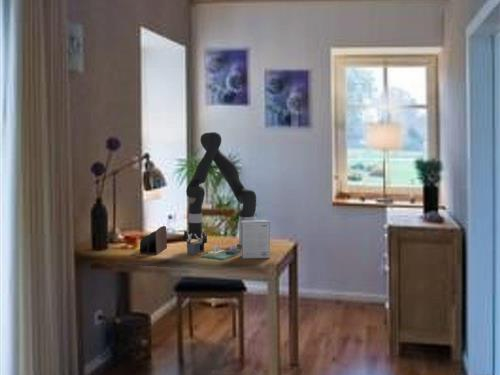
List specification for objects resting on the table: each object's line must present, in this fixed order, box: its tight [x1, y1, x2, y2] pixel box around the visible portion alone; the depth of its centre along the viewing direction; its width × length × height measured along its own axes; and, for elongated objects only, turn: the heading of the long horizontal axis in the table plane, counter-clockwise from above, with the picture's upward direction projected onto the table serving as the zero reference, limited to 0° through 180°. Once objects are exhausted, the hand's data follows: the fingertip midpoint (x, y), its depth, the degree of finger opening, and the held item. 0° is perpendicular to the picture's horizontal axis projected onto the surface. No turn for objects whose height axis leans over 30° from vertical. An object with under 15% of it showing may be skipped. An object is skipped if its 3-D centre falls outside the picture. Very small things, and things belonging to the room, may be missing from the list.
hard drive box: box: [241, 219, 271, 259], centre depth 362 cm, size 16×8×20 cm, turn 92°
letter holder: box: [139, 225, 168, 256], centre depth 377 cm, size 10×20×14 cm, turn 170°
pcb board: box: [201, 243, 242, 261], centre depth 367 cm, size 18×14×6 cm
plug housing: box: [186, 240, 205, 256], centre depth 373 cm, size 10×5×6 cm, turn 150°
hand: (195, 249), depth 373 cm, fingers open, 8 cm apart
